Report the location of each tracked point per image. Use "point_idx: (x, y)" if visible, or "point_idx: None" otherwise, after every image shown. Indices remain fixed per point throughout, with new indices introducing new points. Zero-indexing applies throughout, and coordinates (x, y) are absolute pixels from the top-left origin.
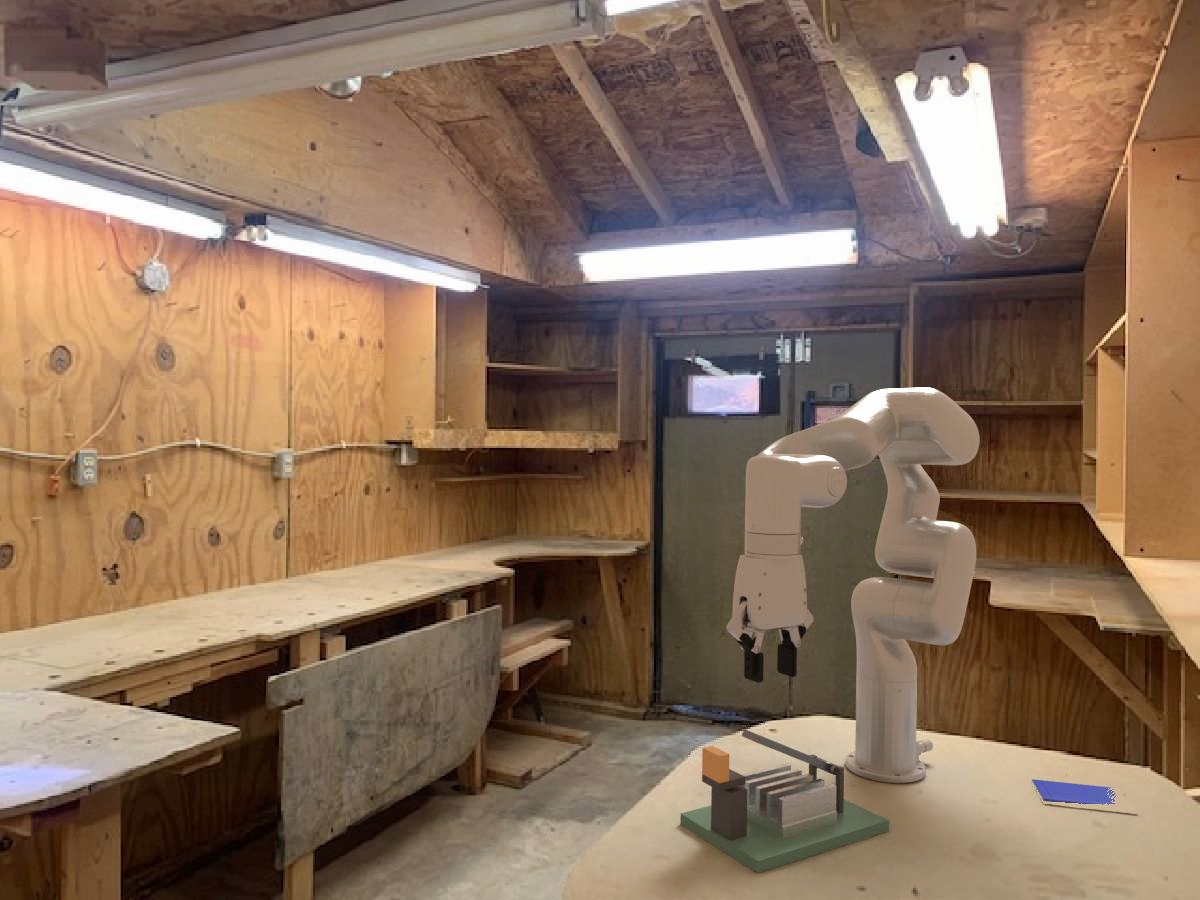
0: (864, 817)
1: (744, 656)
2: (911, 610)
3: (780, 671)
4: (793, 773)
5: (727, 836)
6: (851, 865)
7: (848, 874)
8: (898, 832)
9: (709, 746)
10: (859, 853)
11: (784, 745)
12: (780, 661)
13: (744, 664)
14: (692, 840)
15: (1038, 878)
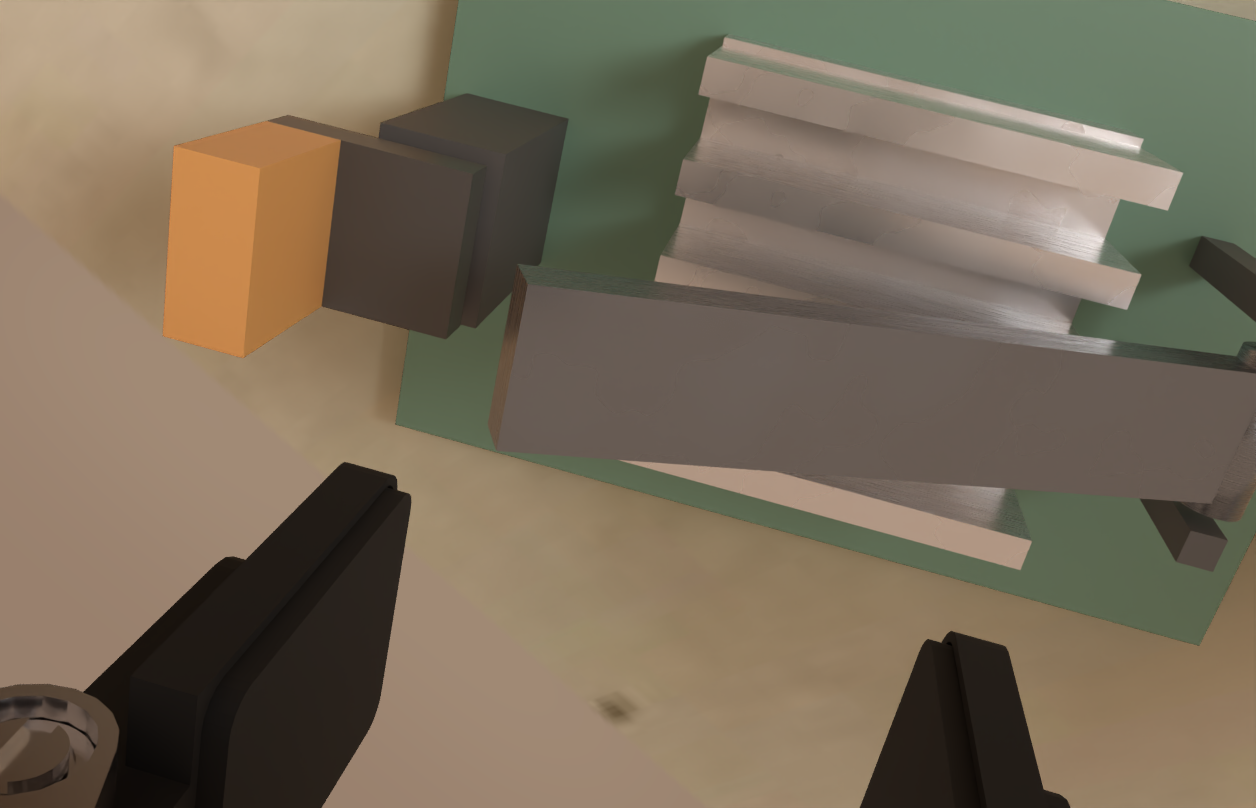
0: (1146, 554)
1: (100, 677)
2: None
3: (906, 694)
4: (1047, 289)
5: None
6: (746, 624)
7: (671, 643)
8: (1199, 649)
9: (232, 166)
10: (868, 608)
11: (854, 416)
12: (924, 782)
13: (175, 607)
14: (416, 23)
15: None
